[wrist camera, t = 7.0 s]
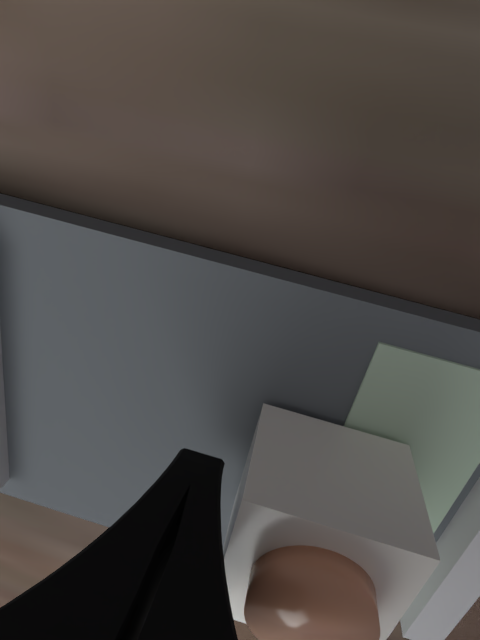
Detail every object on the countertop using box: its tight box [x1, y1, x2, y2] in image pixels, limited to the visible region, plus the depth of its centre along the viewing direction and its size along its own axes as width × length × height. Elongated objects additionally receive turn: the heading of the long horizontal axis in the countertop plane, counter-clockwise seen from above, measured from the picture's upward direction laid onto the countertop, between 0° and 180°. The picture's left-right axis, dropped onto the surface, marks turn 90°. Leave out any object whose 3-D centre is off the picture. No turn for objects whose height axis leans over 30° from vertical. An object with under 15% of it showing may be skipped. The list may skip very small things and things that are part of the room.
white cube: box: [223, 403, 441, 640], centre depth 11 cm, size 4×4×4 cm
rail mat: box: [0, 193, 480, 640], centre depth 14 cm, size 18×12×2 cm, turn 78°
